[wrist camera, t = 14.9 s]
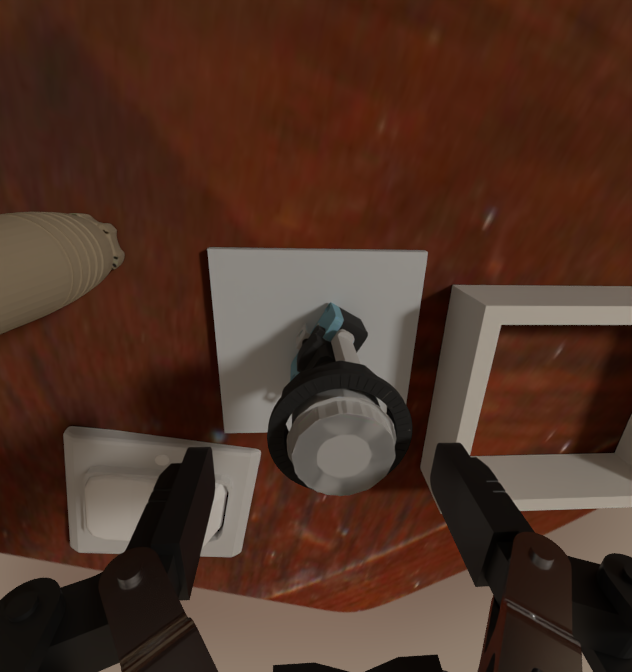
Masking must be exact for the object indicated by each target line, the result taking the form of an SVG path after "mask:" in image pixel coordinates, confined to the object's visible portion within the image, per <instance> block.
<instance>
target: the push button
mask: <svg viewBox="0 0 632 672" xmlns="http://www.w3.org/2000/svg"><path fill="white" fill-rule="evenodd" d="M306 331H307V326H306V324H304V325H303V327H302V328H301V330H300V331H299V333H298V334H297V337H296V348H297V349H299V352H298V353H297V355H296V356H295V358H294V359H293V361H292V363H291V375H290V382H289V383H288V384H287V385H286V386H285V387H284V389H283V391H282V396H281V398H280V399H279V400H278V402H277V403H276V405H275V406H274V408H273V411H272V413H271V416H270V419H269V424H268V433H267V441H268V448H269V452H270V454H271V457H272V459H273V461H274V463H275V464H276V466H277V467H278V468H279V469H280V470H281V472H282V473H284V474H285V475H286V476H287V477H288V478H290V479H291V480H292V481H294V482H296V483H298V484H300V485H302V486H304V487H307V488H310V489H313V490H315V491H317V492H322V493H324V494H326V495H339V496H343V495H351V494H354V493H358V492H361V491H365V490H367V489H370V488H371V487H372V486H374V485H375V484H376V483H378V482H379V481H380V480H381V479H383V478H384V477H385V476H386V475H388V474H389V473H390V472H391V471H392V470H393V469H394V468H395V467H396V466H397V465H398V464H399V463H400V462H401V460H402V459H403V457H404V456H405V454H406V452H407V450H408V448H409V445H410V442H411V437H412V420H411V415H410V412H409V410H408V408H407V406H406V404H405V402H404V400H403V398H402V397H401V395H400V394H399V392H398V391H397V390H396V389H395V388H394V387H393V386H392V385H391V384H389V383H388V382H387V381H385V380H384V379H382V378H380V377H378V376H377V375H376V374H374V373H373V372H372V371H371V370H370V369H369V368H367V367H366V366H365V365H363V364H361V363H360V361H359V358H358V355H357V352H358V350H359V349H360V347H361V346H362V345H363V343H364V342H365V340H366V339H367V337H368V332H367V330H366V328H365V326H364V324H363V323H362V321H361V319H359V318H358V317H356V316H354V315H352V314H351V313H349V312H347V311H345V310H344V309H342V308H340V307H338V306H337V305H335V304H333V303H331V302H330V303H329V304H328V306H327V307H326V309H325V311H324V313H323V314H322V316H321V318H320V319H319V321H318V322H317V324H316V325H315V327H314V328H313V330H312V331H311V333H310V334H309V333H308V332H306ZM301 332H302V334H301ZM300 334H301V335H300ZM376 397H377V398H378V399H380V400H381V401H382V402H383V403H385V404H386V406H387V412H386V413H385V412H384V410H383V409H382V408H381V407H380V405H379V402H378V400H377V398H376ZM291 414H292V426H291V429H290V431H289V430H288V428H287V426H286V423H287V421H288V419H289V417H290V416H291Z"/></svg>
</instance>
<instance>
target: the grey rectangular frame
mask: <svg viewBox="0 0 632 672" xmlns="http://www.w3.org/2000/svg"><path fill="white" fill-rule="evenodd" d="M501 325H632V286H520V285H452V290H451V296H450V302H449V307H448V313H447V319H446V324H445V330H444V336H443V341H442V347H441V353H440V358H439V364H438V370H437V375H436V381H435V387H434V392H433V398H432V404H431V409H430V415H429V421H428V426H427V432H426V438H425V443H424V449H423V455H422V460H421V466H420V469H421V471H422V473H423V476H424V478H425V480H426V482H427V484H428V487H429V489H430V491H431V493H432V489H431V484H430V474H431V469H432V464H433V459H434V455H435V450H436V446H437V444H438V443H457V442H459V443H461V444H462V445H463V446H464V448H465V449H466V451H467V452H468V454H469V456H470V452H471V448H472V444H473V440H474V436H475V432H476V427H477V423H478V419H479V415H480V411H481V407H482V403H483V398H484V394H485V390H486V386H487V382H488V378H489V374H490V369H491V365H492V361H493V357H494V353H495V349H496V345H497V341H498V336H499V332H500V328H501ZM470 457H477V458H478V459H479V460H481V461H482V462H483V463H484V464H486V465H487V466H488V467H489V468H490V469H491V470H492V472H493V473H494V475H495V476H496V478H497V479H498V482H499V483H501V485H502V486H503V488H504V489H505V492H506V493H508V495H509V496H510V498H511V499H512V501H513V502H514V503H515V505H516V506H517V508H518V509H519V511H531V510H561V509H590V508H619V507H632V414H631V417H630V419H629V421H628V423H627V426H626V428H625V430H624V432H623V435H622V437H621V439H620V441H619V444H618V446H617V448H616V451H615V453H593V454H551V455H508V456H470ZM432 495H433V493H432ZM433 498H434V500H435V502H436V499H435V497H434V495H433ZM436 504H437V502H436ZM437 507H438V509H439V511H440V513H441V514H442V512H441V510H440V508H439V506H438V504H437Z"/></svg>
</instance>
